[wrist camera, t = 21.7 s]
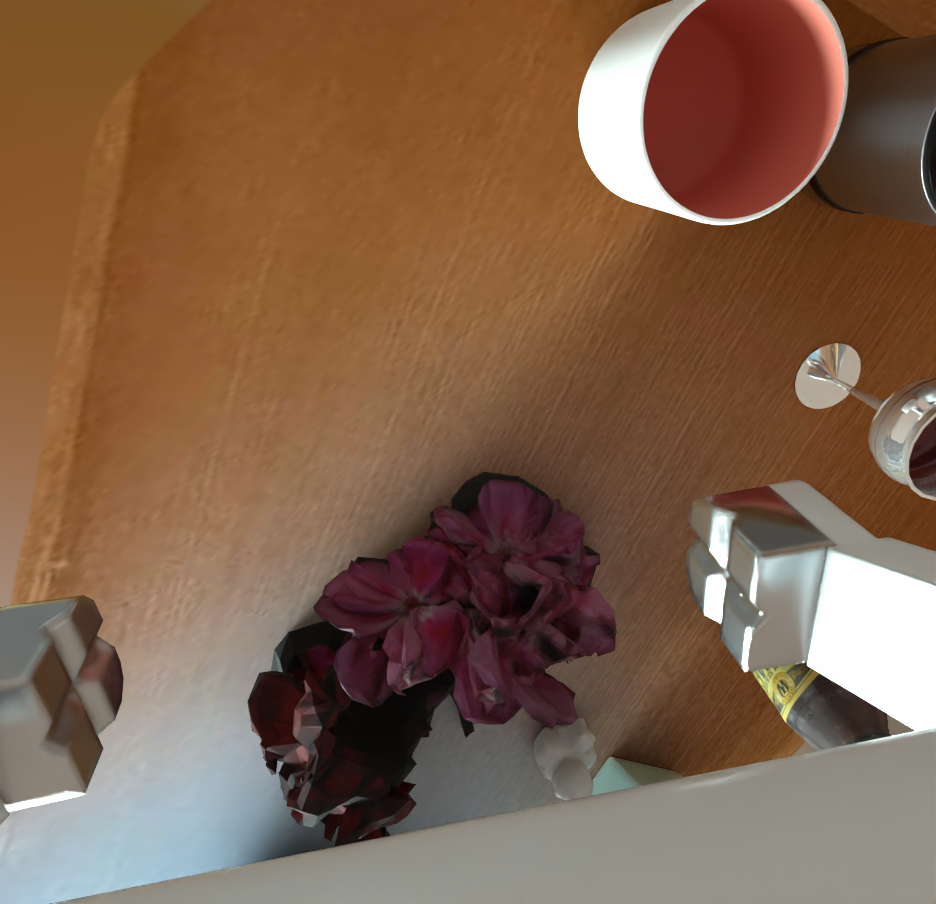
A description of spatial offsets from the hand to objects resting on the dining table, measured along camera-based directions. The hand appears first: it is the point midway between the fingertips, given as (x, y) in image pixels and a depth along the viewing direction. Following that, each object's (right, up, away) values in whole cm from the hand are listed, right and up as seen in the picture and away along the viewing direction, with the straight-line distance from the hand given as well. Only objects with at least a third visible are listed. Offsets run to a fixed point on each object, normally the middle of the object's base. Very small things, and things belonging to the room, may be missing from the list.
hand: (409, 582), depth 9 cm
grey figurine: (+9, -23, +51) cm, 57 cm away
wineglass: (+27, +7, +40) cm, 48 cm away
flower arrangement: (-3, -11, +44) cm, 45 cm away
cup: (+12, +22, +30) cm, 39 cm away
